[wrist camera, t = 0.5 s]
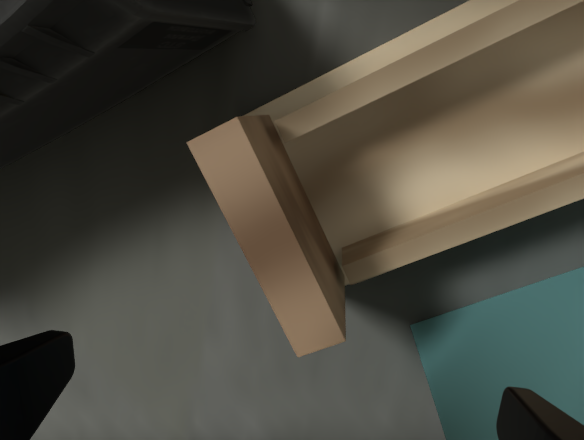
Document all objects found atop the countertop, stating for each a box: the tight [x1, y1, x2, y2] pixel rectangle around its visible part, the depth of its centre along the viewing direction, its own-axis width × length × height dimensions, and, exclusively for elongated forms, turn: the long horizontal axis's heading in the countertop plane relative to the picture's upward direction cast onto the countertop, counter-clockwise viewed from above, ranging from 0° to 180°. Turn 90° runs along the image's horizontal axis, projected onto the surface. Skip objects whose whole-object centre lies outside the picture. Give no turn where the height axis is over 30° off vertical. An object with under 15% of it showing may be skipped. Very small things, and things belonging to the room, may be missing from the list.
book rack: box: [186, 0, 584, 357], centre depth 15 cm, size 10×20×7 cm, turn 115°
